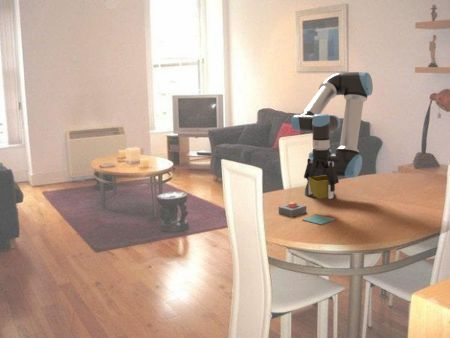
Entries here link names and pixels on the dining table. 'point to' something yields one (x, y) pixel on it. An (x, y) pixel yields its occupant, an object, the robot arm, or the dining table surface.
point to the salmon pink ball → (292, 204)
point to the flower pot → (319, 186)
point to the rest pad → (318, 219)
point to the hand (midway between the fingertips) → (320, 195)
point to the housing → (292, 210)
